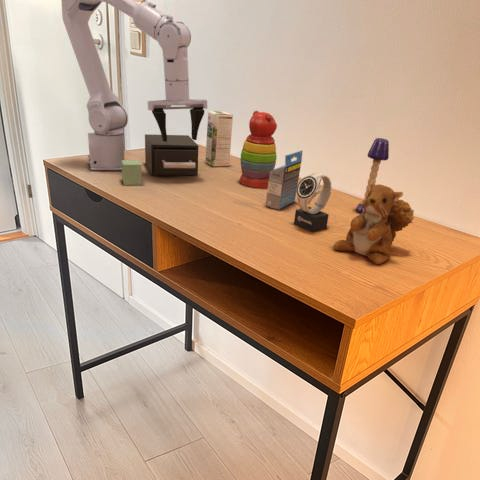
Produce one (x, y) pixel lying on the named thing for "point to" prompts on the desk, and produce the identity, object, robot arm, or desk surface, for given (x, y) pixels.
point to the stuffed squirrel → (377, 224)
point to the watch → (306, 192)
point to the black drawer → (175, 161)
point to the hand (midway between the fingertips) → (179, 140)
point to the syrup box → (218, 138)
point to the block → (131, 172)
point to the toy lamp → (375, 163)
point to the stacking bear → (259, 151)
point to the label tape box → (284, 182)
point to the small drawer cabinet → (172, 142)
